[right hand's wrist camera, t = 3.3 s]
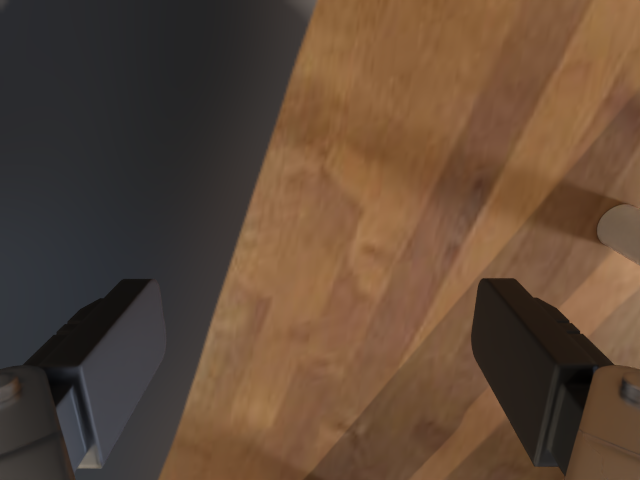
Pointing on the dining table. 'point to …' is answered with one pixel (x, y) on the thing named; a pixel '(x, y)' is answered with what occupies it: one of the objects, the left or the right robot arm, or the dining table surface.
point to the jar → (621, 231)
